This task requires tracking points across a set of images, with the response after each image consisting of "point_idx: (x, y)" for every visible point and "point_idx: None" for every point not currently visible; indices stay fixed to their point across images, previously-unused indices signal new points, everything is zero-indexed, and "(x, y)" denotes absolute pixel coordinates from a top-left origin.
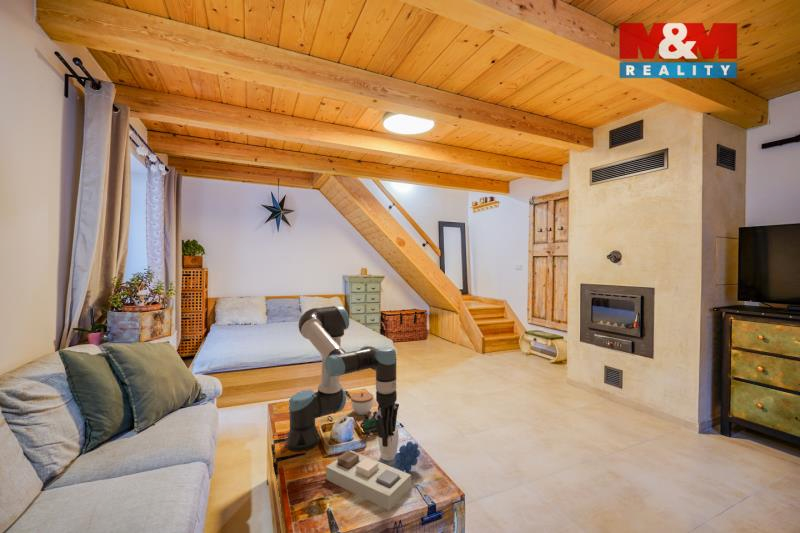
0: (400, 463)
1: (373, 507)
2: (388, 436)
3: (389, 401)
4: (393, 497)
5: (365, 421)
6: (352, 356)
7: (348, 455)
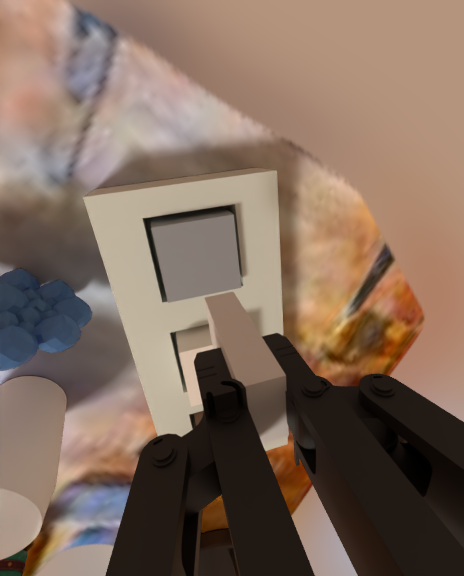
0: (60, 306)
1: None
2: (262, 399)
3: None
4: (236, 173)
5: None
6: None
7: None
